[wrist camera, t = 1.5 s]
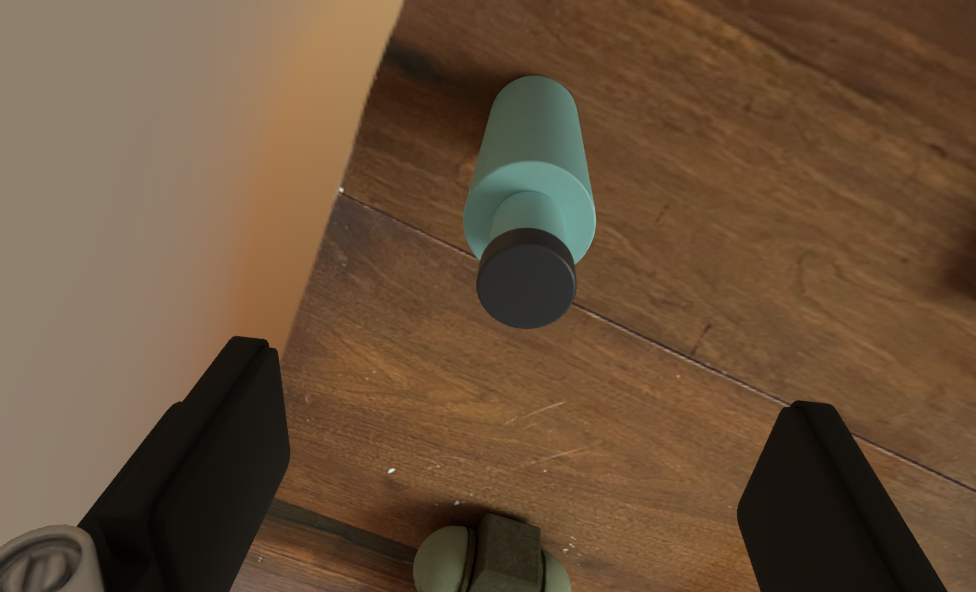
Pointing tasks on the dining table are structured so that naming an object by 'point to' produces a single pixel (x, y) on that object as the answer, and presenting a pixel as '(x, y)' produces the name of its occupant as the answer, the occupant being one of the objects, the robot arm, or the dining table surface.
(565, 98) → the bottle
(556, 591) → the post
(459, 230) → the dining table surface
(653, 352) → the dining table surface
